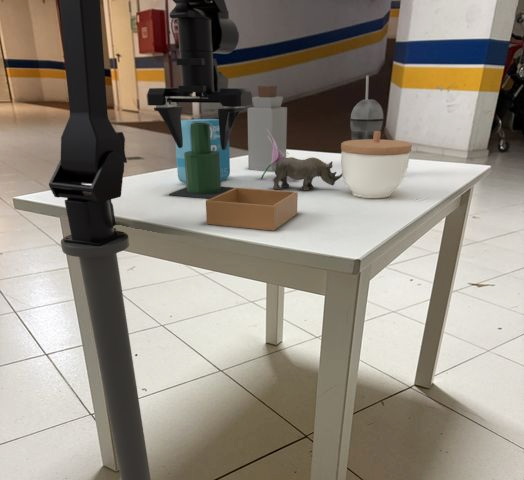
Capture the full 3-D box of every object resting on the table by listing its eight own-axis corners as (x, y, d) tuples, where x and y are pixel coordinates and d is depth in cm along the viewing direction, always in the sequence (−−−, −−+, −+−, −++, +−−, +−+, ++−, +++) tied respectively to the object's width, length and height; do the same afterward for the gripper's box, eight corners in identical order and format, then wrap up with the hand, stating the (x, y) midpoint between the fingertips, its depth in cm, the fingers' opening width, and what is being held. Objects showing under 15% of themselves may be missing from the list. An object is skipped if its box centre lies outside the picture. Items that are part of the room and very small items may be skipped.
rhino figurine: (341, 192, 97) (343, 159, 94) (271, 190, 98) (272, 158, 96) (341, 188, 100) (344, 156, 97) (274, 186, 102) (274, 155, 99)
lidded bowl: (363, 185, 102) (368, 127, 97) (417, 194, 94) (427, 131, 89) (324, 194, 94) (327, 131, 89) (380, 205, 87) (387, 136, 81)
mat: (216, 199, 91) (215, 197, 91) (168, 195, 94) (168, 193, 94) (238, 189, 99) (237, 187, 99) (193, 186, 103) (193, 184, 103)
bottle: (211, 195, 93) (208, 125, 87) (181, 192, 95) (175, 124, 89) (226, 188, 98) (224, 122, 93) (197, 186, 101) (192, 121, 95)
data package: (193, 185, 101) (189, 121, 96) (177, 183, 103) (173, 120, 98) (230, 178, 110) (229, 119, 104) (215, 176, 112) (212, 118, 107)
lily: (280, 191, 103) (303, 147, 100) (234, 164, 105) (256, 120, 102) (296, 198, 114) (317, 159, 111) (254, 173, 116) (274, 134, 113)
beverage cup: (384, 174, 114) (394, 75, 104) (366, 179, 109) (376, 75, 99) (357, 171, 118) (365, 75, 108) (339, 175, 113) (346, 75, 104)
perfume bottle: (271, 171, 119) (272, 86, 110) (248, 168, 122) (247, 86, 113) (285, 167, 124) (287, 85, 115) (263, 165, 127) (262, 85, 118)
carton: (274, 230, 72) (274, 206, 71) (206, 224, 76) (205, 200, 74) (297, 213, 81) (297, 191, 79) (236, 208, 85) (235, 187, 83)
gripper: (263, 52, 89) (263, 145, 97) (172, 54, 95) (179, 142, 103) (238, 50, 80) (240, 152, 88) (140, 52, 86) (150, 148, 94)
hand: (201, 148), depth 93 cm, fingers open, 9 cm apart
